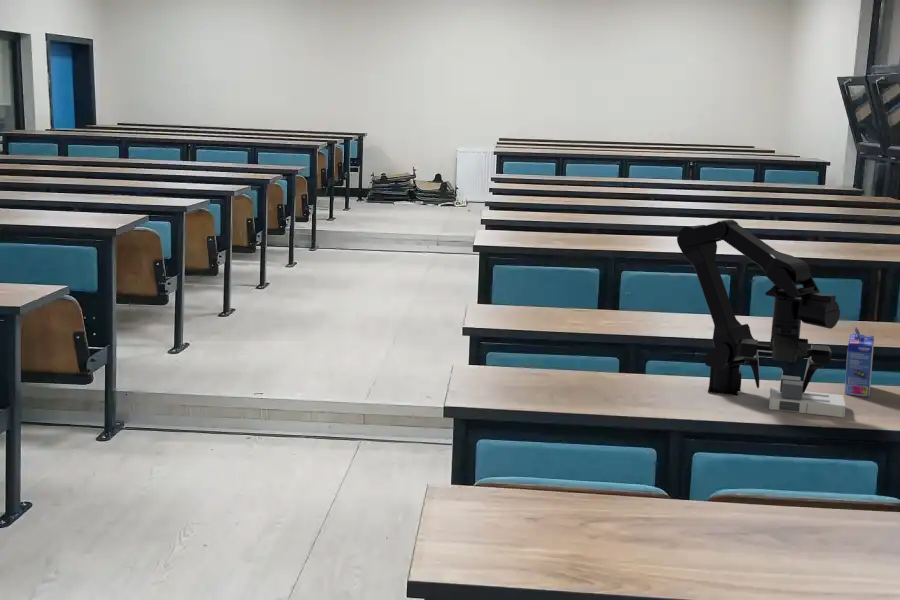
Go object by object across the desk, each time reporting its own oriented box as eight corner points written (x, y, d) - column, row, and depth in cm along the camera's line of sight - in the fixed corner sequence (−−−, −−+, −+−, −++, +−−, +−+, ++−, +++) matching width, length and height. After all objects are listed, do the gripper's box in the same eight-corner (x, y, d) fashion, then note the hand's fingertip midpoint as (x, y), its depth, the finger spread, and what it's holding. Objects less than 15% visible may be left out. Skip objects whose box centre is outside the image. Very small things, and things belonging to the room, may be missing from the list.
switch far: (779, 392, 206) (781, 378, 206) (779, 388, 209) (781, 375, 209) (799, 394, 205) (800, 380, 205) (799, 390, 208) (800, 376, 207)
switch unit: (769, 409, 203) (770, 398, 203) (769, 398, 211) (770, 387, 210) (844, 418, 199) (845, 406, 198) (841, 406, 206) (843, 394, 206)
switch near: (781, 397, 203) (783, 383, 202) (781, 393, 206) (783, 379, 205) (801, 399, 202) (803, 385, 201) (801, 395, 204) (802, 381, 204)
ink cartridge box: (844, 383, 224) (851, 323, 221) (870, 386, 221) (877, 325, 218) (842, 394, 215) (849, 332, 212) (869, 397, 213) (876, 335, 210)
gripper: (739, 323, 196) (733, 395, 200) (836, 331, 190) (828, 405, 194) (741, 312, 207) (735, 381, 210) (833, 319, 201) (826, 390, 204)
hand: (780, 389), depth 204 cm, fingers open, 9 cm apart
